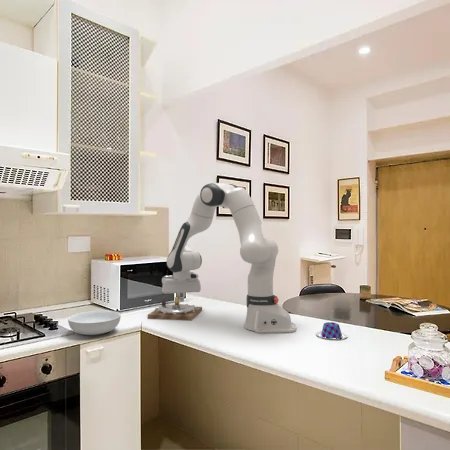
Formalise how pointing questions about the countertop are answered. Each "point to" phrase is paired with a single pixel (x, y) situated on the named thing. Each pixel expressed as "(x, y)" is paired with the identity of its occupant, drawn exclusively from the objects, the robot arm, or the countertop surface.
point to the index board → (171, 316)
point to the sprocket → (176, 308)
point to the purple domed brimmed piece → (331, 331)
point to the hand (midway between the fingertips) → (181, 301)
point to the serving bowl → (94, 322)
